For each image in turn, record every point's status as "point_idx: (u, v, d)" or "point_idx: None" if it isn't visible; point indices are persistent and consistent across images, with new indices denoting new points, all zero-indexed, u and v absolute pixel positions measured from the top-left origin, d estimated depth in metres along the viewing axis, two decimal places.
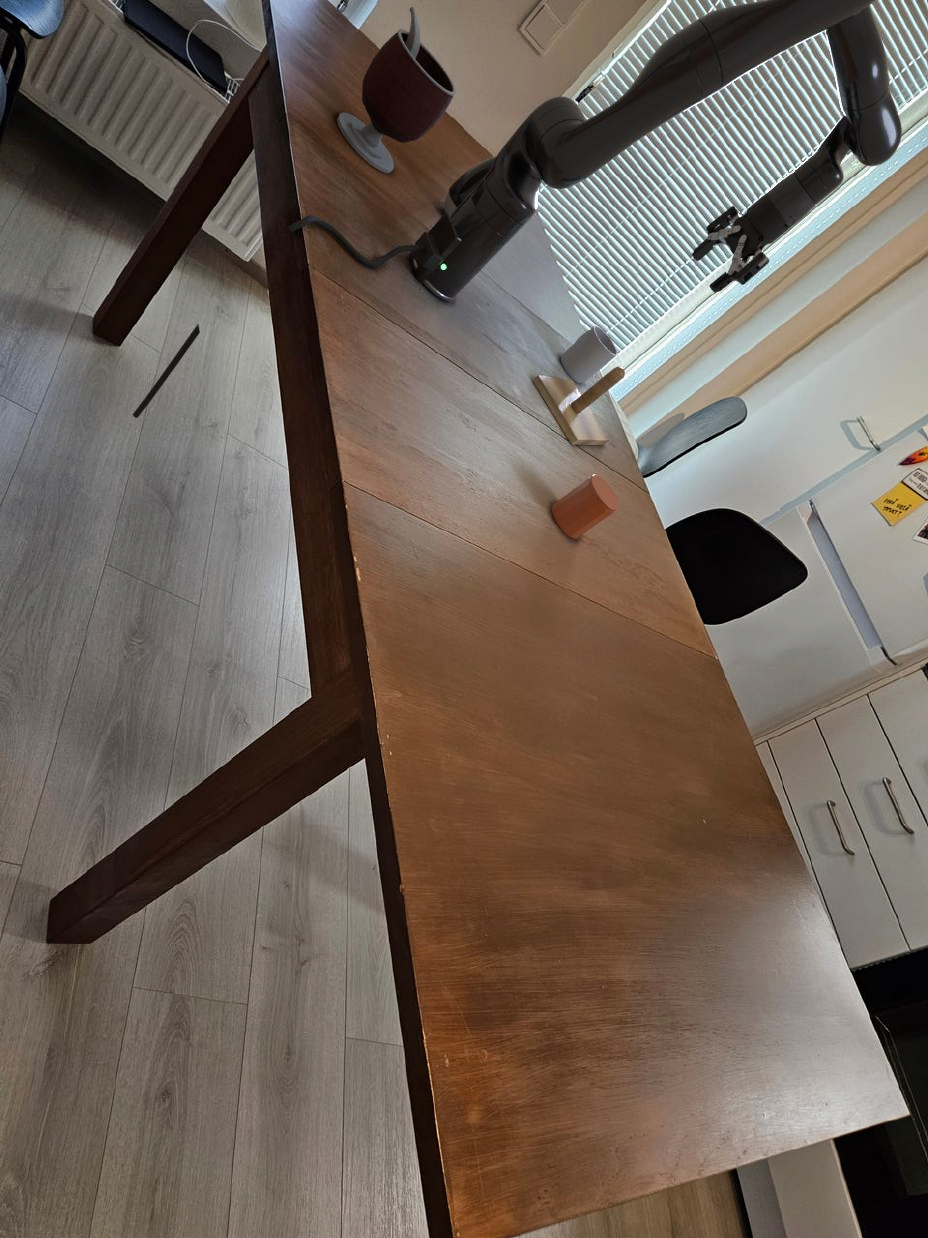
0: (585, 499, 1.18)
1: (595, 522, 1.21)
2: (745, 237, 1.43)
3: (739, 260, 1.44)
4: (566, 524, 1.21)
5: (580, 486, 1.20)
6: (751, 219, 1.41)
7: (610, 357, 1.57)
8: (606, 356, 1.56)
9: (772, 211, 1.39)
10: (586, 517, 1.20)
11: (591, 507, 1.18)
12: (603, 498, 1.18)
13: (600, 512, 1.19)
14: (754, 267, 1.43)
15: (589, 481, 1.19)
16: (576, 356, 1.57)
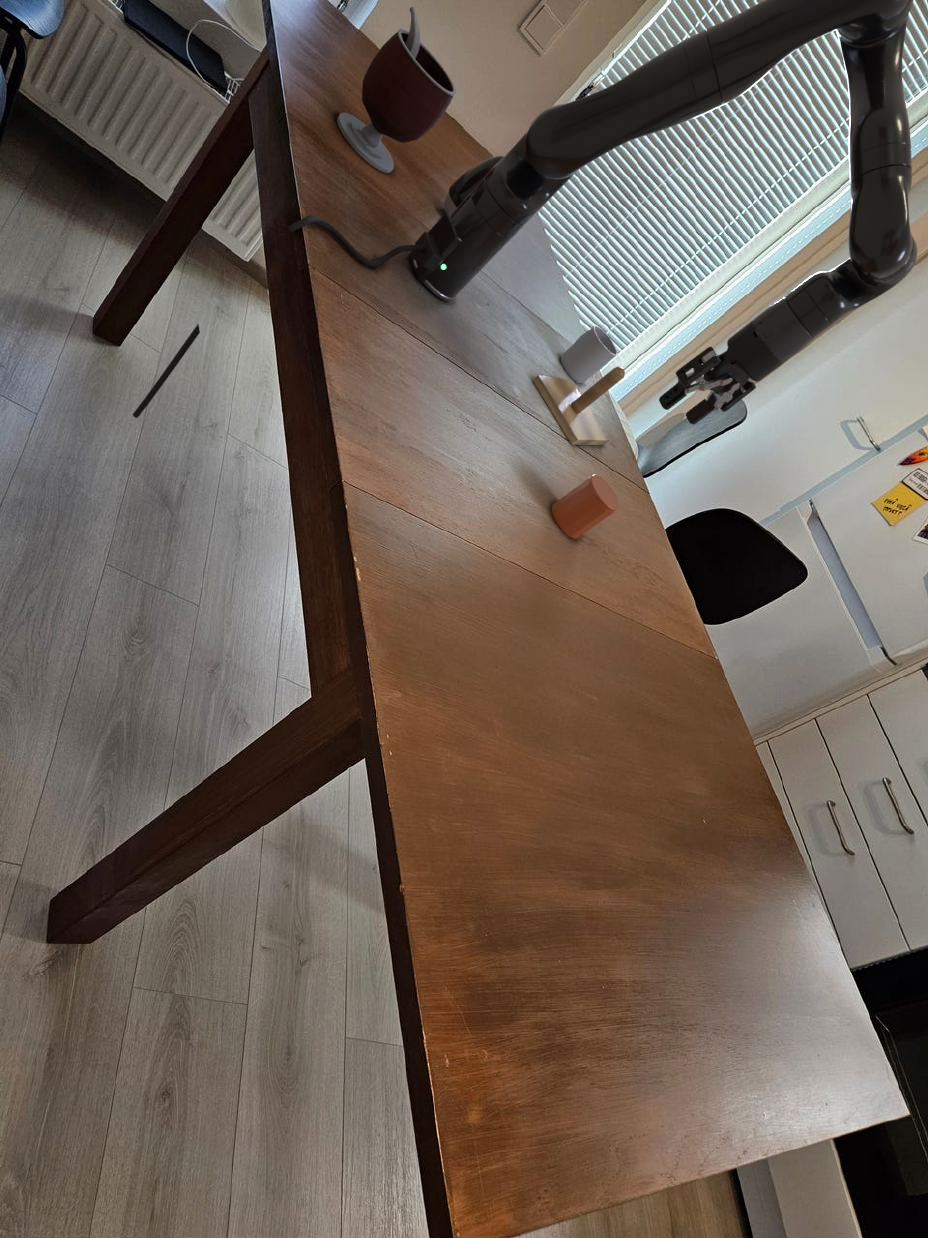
0: (585, 499, 1.18)
1: (595, 522, 1.21)
2: None
3: None
4: (566, 524, 1.21)
5: (580, 486, 1.20)
6: None
7: (610, 357, 1.57)
8: (606, 356, 1.56)
9: None
10: (586, 517, 1.20)
11: (591, 507, 1.18)
12: (603, 498, 1.18)
13: (600, 512, 1.19)
14: (696, 360, 1.12)
15: (589, 481, 1.19)
16: (576, 356, 1.57)
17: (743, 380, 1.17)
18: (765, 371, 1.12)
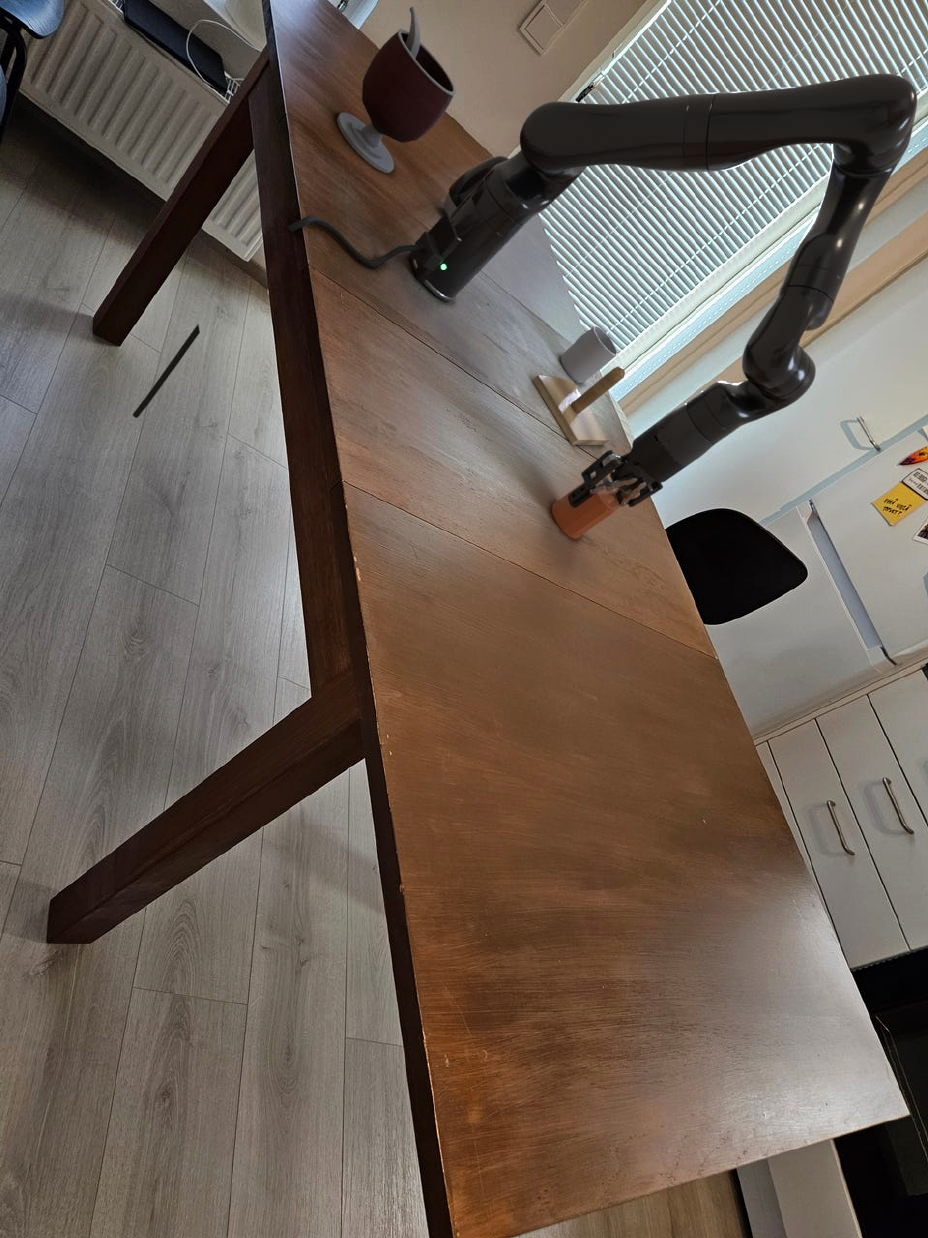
0: None
1: (595, 522, 1.21)
2: None
3: None
4: (566, 524, 1.21)
5: None
6: None
7: (610, 357, 1.57)
8: (606, 356, 1.56)
9: None
10: (586, 517, 1.20)
11: (591, 507, 1.18)
12: (603, 498, 1.18)
13: (600, 512, 1.19)
14: (597, 463, 1.13)
15: None
16: (576, 356, 1.57)
17: (651, 479, 1.18)
18: (667, 473, 1.13)
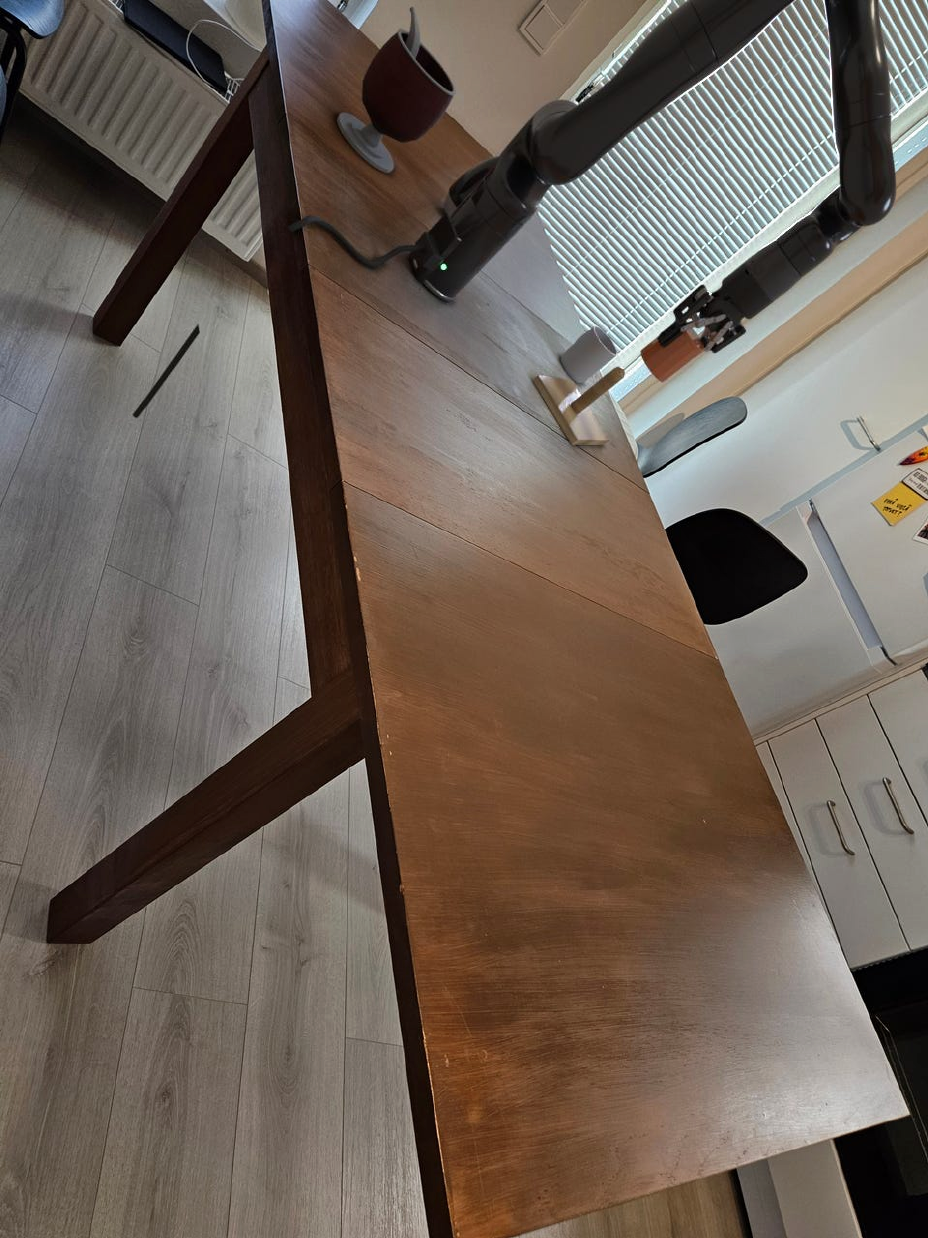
0: None
1: (682, 363, 1.29)
2: None
3: None
4: (655, 365, 1.29)
5: None
6: None
7: (610, 357, 1.57)
8: (606, 356, 1.56)
9: None
10: (674, 357, 1.28)
11: (680, 346, 1.27)
12: (692, 337, 1.26)
13: (688, 351, 1.27)
14: (690, 298, 1.22)
15: None
16: (576, 356, 1.57)
17: (737, 320, 1.26)
18: (755, 307, 1.21)
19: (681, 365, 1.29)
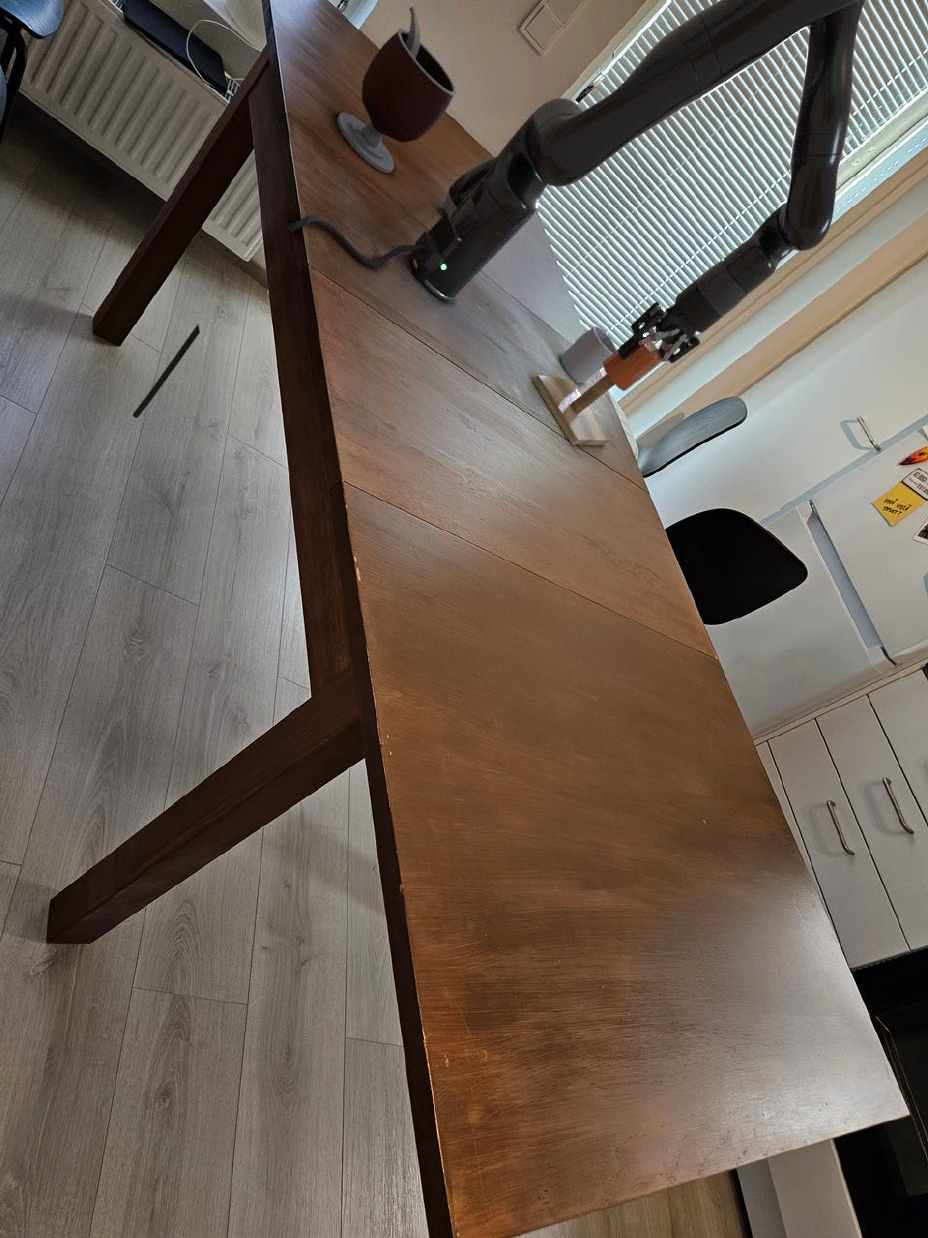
0: None
1: (641, 373, 1.39)
2: None
3: None
4: (616, 375, 1.39)
5: None
6: None
7: None
8: (606, 356, 1.56)
9: None
10: (634, 368, 1.38)
11: (638, 358, 1.37)
12: (649, 349, 1.36)
13: (646, 362, 1.37)
14: (646, 314, 1.32)
15: None
16: (576, 356, 1.57)
17: (691, 333, 1.36)
18: (706, 322, 1.31)
19: (640, 375, 1.39)
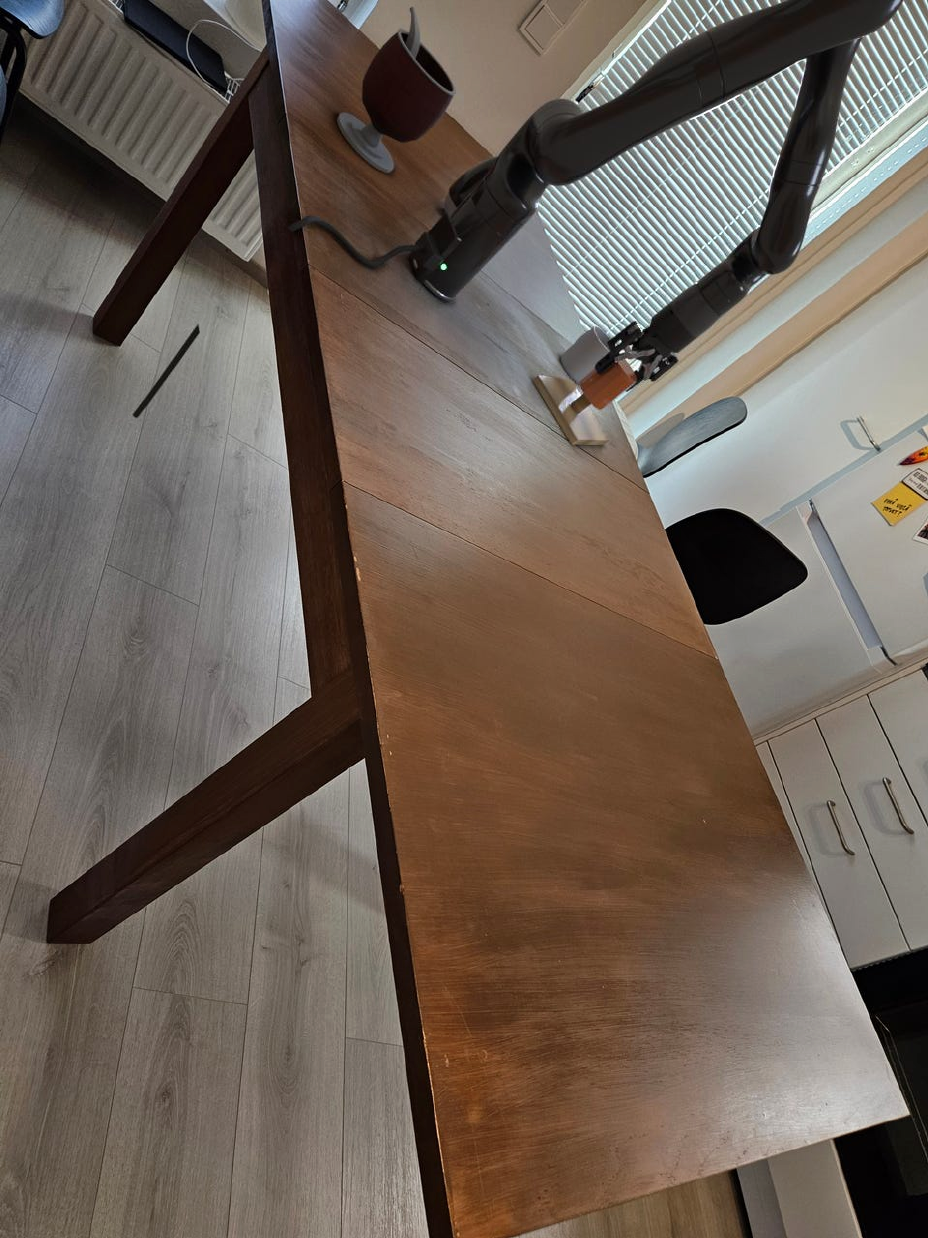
0: (609, 371, 1.40)
1: (617, 393, 1.42)
2: None
3: None
4: (592, 394, 1.42)
5: None
6: None
7: None
8: None
9: (667, 304, 1.35)
10: (609, 387, 1.41)
11: (614, 378, 1.40)
12: (624, 370, 1.39)
13: (622, 382, 1.40)
14: (623, 332, 1.34)
15: None
16: (576, 356, 1.57)
17: (666, 353, 1.39)
18: (680, 343, 1.34)
19: (616, 394, 1.42)
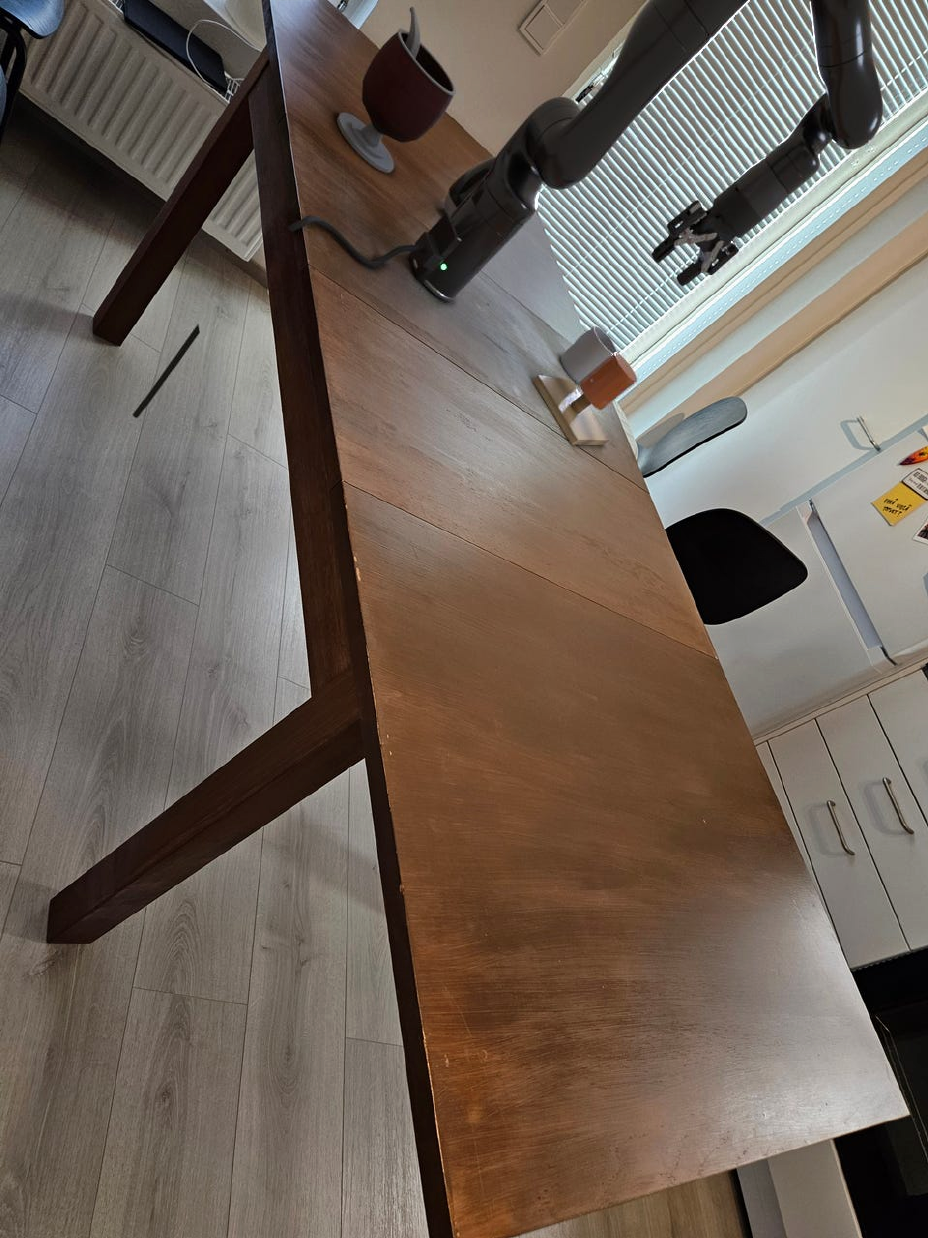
0: (609, 371, 1.40)
1: (617, 393, 1.42)
2: None
3: None
4: (592, 395, 1.42)
5: (604, 361, 1.41)
6: None
7: None
8: (606, 356, 1.56)
9: None
10: (610, 387, 1.41)
11: (614, 378, 1.40)
12: (624, 370, 1.39)
13: (622, 382, 1.40)
14: (685, 212, 1.27)
15: (612, 356, 1.40)
16: (576, 356, 1.57)
17: (727, 240, 1.32)
18: (745, 224, 1.27)
19: (616, 395, 1.42)
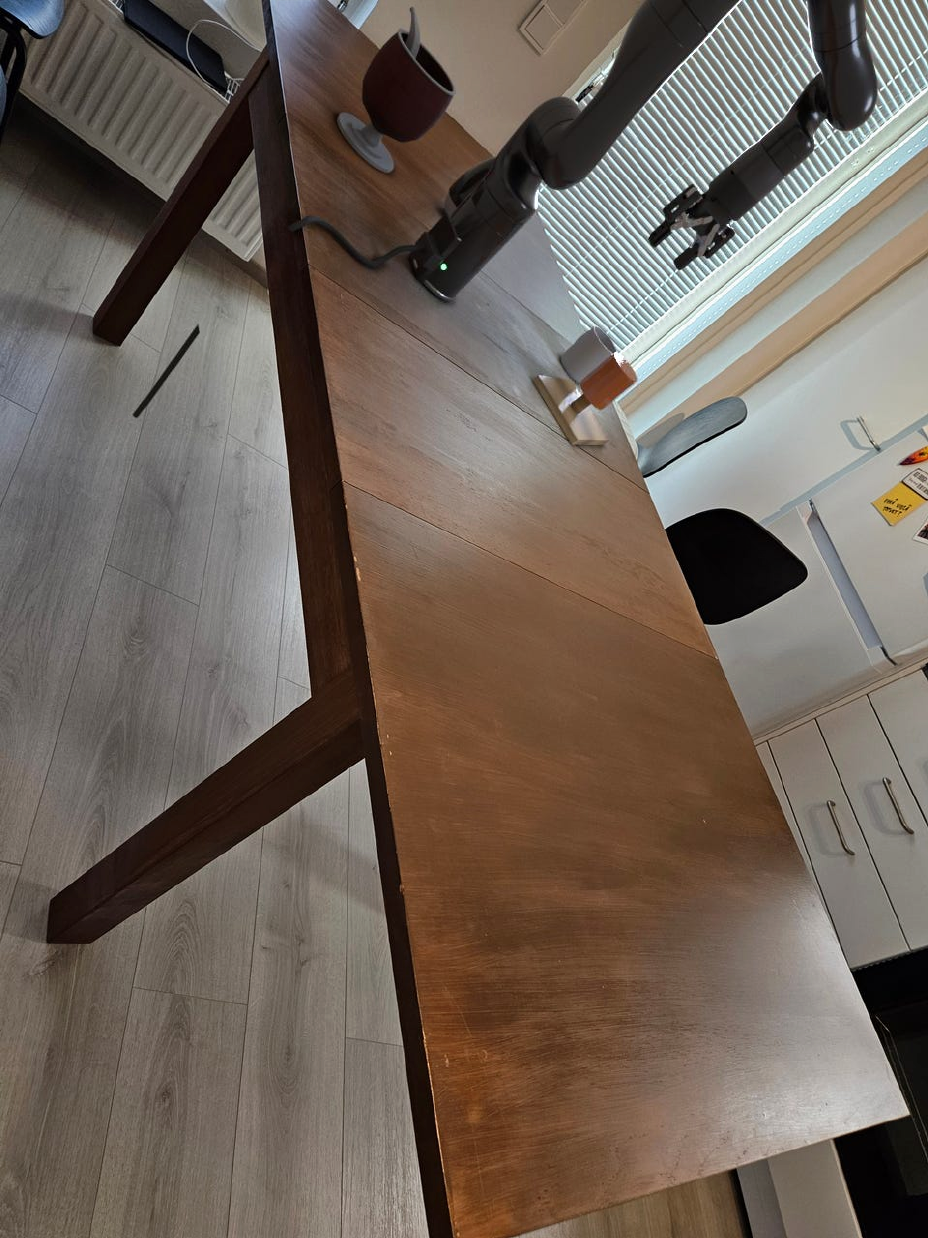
0: (609, 371, 1.40)
1: (617, 393, 1.42)
2: None
3: None
4: (592, 395, 1.42)
5: (604, 362, 1.41)
6: None
7: None
8: (606, 356, 1.56)
9: None
10: (609, 388, 1.41)
11: (614, 378, 1.40)
12: (624, 370, 1.39)
13: (621, 382, 1.40)
14: (681, 196, 1.27)
15: (612, 356, 1.40)
16: (576, 356, 1.57)
17: (723, 223, 1.33)
18: (741, 207, 1.27)
19: (616, 395, 1.42)
